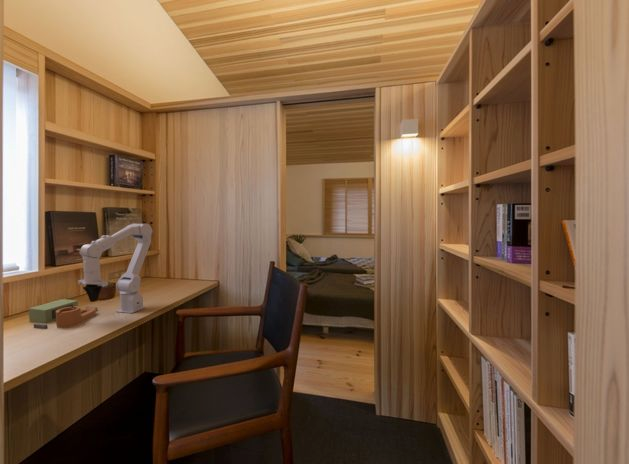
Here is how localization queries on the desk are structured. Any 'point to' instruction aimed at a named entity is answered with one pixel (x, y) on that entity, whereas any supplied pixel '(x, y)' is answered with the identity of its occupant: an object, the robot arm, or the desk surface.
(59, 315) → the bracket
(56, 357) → the desk surface
